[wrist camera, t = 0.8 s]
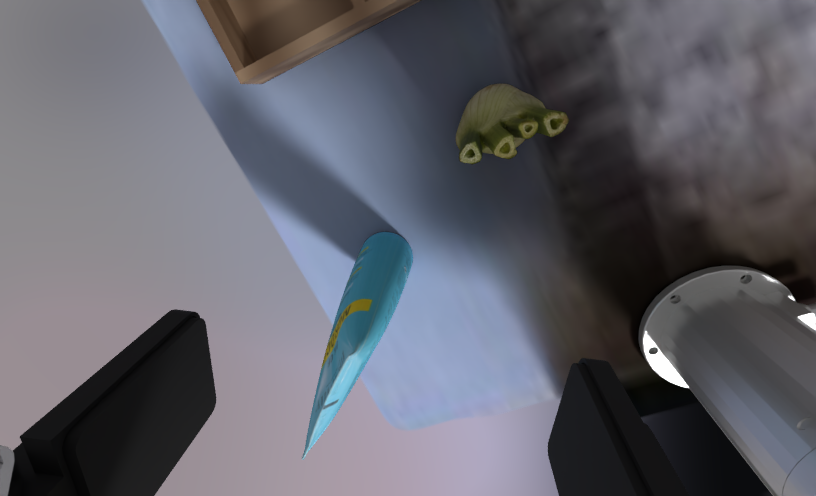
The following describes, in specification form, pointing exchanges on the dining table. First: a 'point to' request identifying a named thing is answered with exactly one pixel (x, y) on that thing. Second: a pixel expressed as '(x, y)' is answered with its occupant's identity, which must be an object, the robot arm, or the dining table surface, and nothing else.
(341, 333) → the tube
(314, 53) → the wooden compartment tray
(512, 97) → the fennel bulb
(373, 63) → the dining table surface
